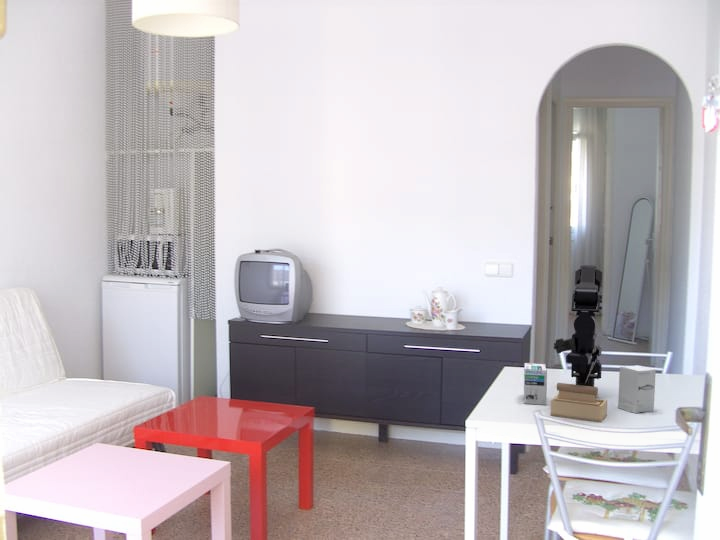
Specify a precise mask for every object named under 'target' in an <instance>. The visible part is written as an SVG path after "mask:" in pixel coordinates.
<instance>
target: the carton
mask: <svg viewBox="0 0 720 540" xmlns="http://www.w3.org/2000/svg"><path fill="white" fill-rule="evenodd" d="M554 397H559V393H558V394H556V395H555V396H554ZM595 402H600V404H599V405H592V404H585V403H577V402H569V401H561V400H553V398H551V399H550V415H549V416H550V417H551V416H553V417H558V418H559V417H561V418H565V419H567V418H568V419H573V420H581V421H587V422H588V421H589V422H596V423H602V421H604V419H605V418H606V417H607V414H608V400H606V399H601V398H600V399H599V398H595Z"/></svg>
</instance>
